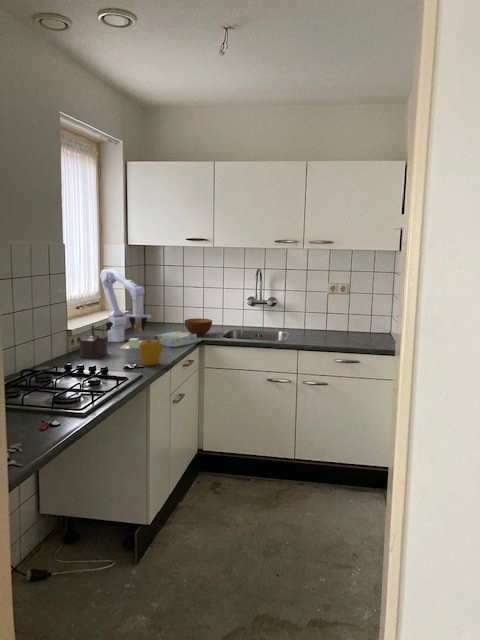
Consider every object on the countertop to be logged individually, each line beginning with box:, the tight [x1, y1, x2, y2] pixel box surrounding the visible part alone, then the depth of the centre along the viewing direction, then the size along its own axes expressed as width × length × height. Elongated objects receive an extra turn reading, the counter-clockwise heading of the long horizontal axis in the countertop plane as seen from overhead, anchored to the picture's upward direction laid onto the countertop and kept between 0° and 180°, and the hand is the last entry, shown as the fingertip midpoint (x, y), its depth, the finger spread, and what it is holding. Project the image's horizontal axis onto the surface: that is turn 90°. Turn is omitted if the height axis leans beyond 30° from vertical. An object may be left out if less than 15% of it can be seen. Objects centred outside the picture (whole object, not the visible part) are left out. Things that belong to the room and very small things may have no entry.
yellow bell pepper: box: [138, 338, 162, 367], centre depth 267 cm, size 11×11×13 cm
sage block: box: [128, 337, 140, 350], centre depth 303 cm, size 4×4×5 cm
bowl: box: [184, 318, 213, 338], centre depth 345 cm, size 18×18×10 cm
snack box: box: [154, 330, 198, 348], centre depth 319 cm, size 21×6×15 cm
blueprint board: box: [119, 339, 144, 350], centre depth 313 cm, size 17×24×1 cm
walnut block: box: [133, 322, 144, 334], centre depth 312 cm, size 4×4×5 cm
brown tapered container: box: [79, 320, 113, 360], centre depth 286 cm, size 16×11×18 cm
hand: (138, 330), depth 312 cm, fingers closed on walnut block, 4 cm apart
